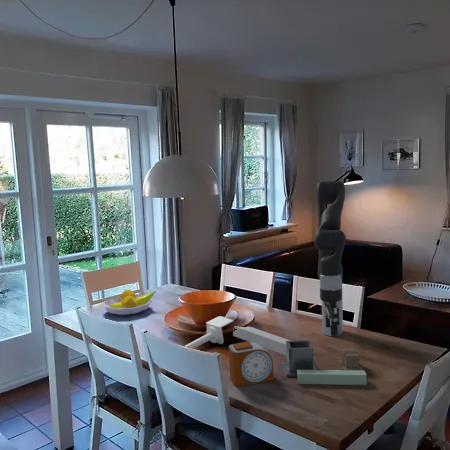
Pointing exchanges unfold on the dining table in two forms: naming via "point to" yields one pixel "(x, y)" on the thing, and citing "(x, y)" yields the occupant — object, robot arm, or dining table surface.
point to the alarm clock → (249, 364)
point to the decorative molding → (262, 338)
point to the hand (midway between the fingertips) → (331, 331)
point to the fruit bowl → (128, 303)
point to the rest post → (350, 360)
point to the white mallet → (212, 332)
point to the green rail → (331, 377)
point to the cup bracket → (298, 357)
